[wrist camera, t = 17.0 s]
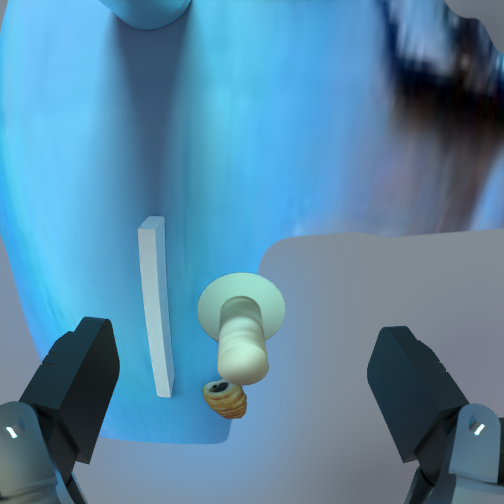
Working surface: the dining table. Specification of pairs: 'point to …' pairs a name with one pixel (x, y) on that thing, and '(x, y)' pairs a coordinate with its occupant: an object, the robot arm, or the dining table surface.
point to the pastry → (225, 398)
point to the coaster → (241, 286)
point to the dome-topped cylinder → (241, 342)
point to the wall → (156, 301)
